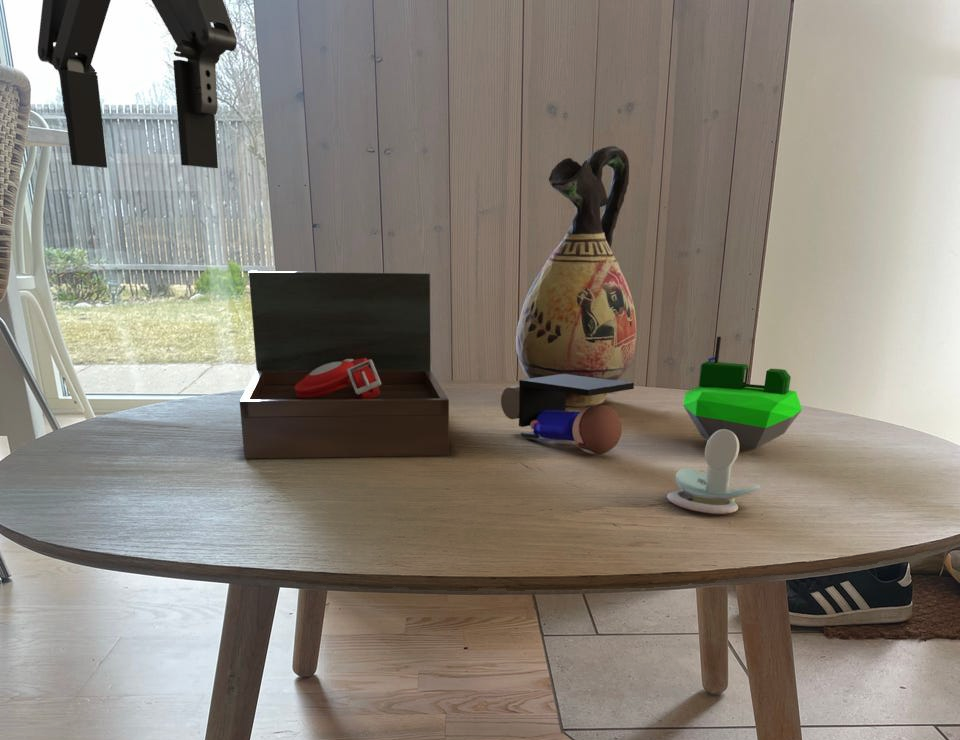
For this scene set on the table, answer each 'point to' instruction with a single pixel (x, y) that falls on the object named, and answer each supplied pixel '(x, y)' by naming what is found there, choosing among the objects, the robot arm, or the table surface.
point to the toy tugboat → (741, 403)
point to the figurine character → (547, 417)
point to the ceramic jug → (582, 285)
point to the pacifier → (711, 478)
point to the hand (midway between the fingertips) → (142, 167)
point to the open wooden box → (335, 337)
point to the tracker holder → (341, 379)
